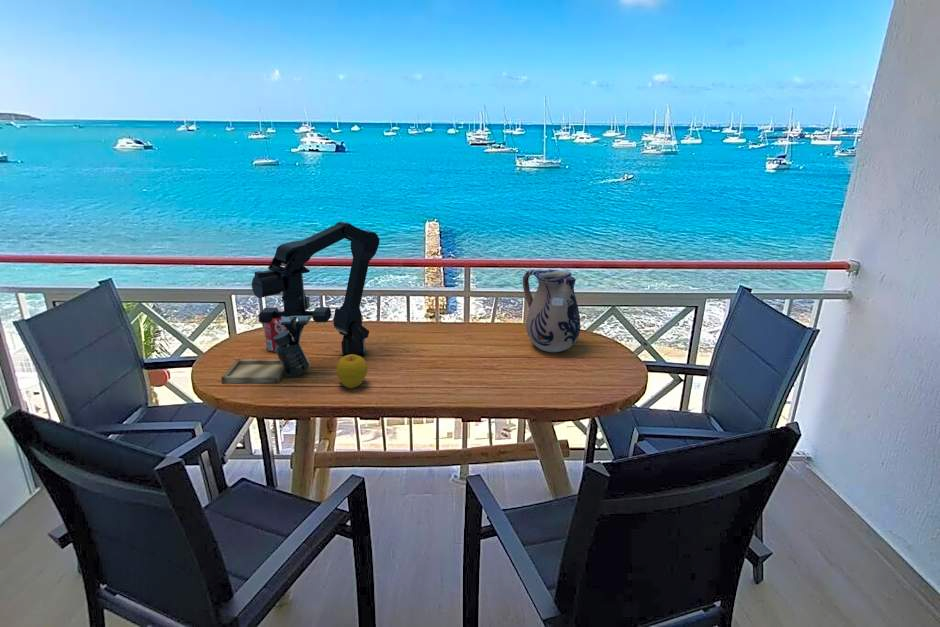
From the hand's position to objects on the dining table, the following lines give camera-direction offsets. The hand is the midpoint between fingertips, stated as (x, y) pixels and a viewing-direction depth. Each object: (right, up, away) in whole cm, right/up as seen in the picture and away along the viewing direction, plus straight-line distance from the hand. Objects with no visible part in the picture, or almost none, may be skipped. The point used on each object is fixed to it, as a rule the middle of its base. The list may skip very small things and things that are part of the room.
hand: (298, 343), depth 155 cm
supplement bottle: (-1, -8, +3) cm, 9 cm away
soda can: (-13, -3, +20) cm, 24 cm away
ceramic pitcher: (+74, -2, +26) cm, 79 cm away
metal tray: (-13, -9, +3) cm, 16 cm away
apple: (+16, -12, -2) cm, 20 cm away
